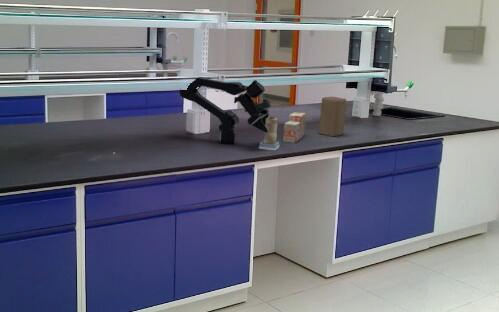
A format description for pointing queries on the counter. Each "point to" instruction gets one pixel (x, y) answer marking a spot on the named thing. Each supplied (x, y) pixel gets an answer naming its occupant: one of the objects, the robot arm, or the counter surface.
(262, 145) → the blue square tray
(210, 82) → the robot arm
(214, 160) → the counter surface
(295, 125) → the stack of blocks
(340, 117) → the block
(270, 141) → the maple pillar block
